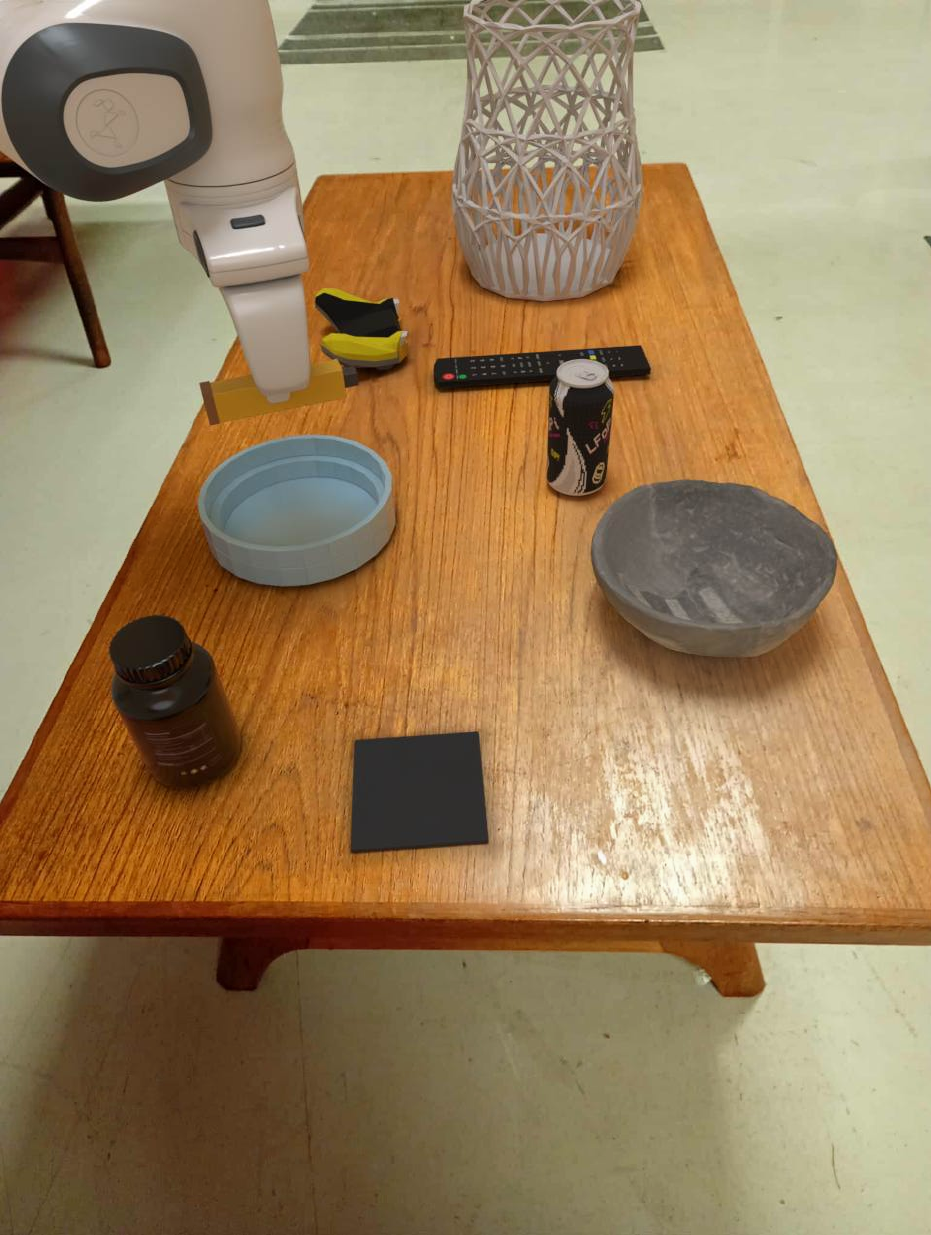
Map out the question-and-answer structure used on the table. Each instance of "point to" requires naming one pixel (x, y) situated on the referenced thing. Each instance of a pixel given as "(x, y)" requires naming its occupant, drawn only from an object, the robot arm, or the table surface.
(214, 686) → the supplement bottle
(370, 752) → the mat
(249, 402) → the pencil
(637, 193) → the vase
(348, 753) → the table surface
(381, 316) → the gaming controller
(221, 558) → the blue bowl
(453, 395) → the table surface
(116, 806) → the table surface
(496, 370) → the remote control
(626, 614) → the bowl
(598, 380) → the beverage can
